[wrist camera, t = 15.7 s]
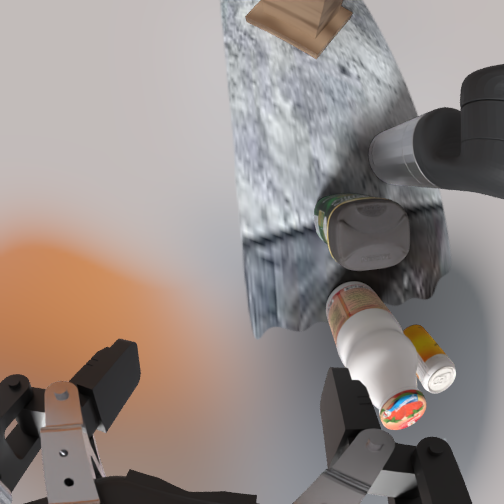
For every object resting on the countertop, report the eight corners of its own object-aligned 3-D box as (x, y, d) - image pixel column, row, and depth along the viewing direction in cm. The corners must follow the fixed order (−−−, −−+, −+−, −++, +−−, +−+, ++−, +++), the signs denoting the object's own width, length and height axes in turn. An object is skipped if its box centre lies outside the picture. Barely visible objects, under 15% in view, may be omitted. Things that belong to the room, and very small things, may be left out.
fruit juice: (359, 268, 49) (431, 359, 21) (384, 308, 50) (455, 409, 23) (314, 300, 50) (343, 415, 23) (342, 337, 52) (381, 455, 25)
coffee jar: (367, 190, 45) (416, 197, 27) (371, 237, 47) (418, 269, 29) (310, 195, 47) (329, 204, 29) (315, 244, 48) (335, 281, 30)
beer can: (419, 348, 51) (450, 392, 37) (394, 350, 52) (421, 397, 37) (426, 321, 50) (462, 362, 35) (400, 323, 50) (432, 366, 36)
